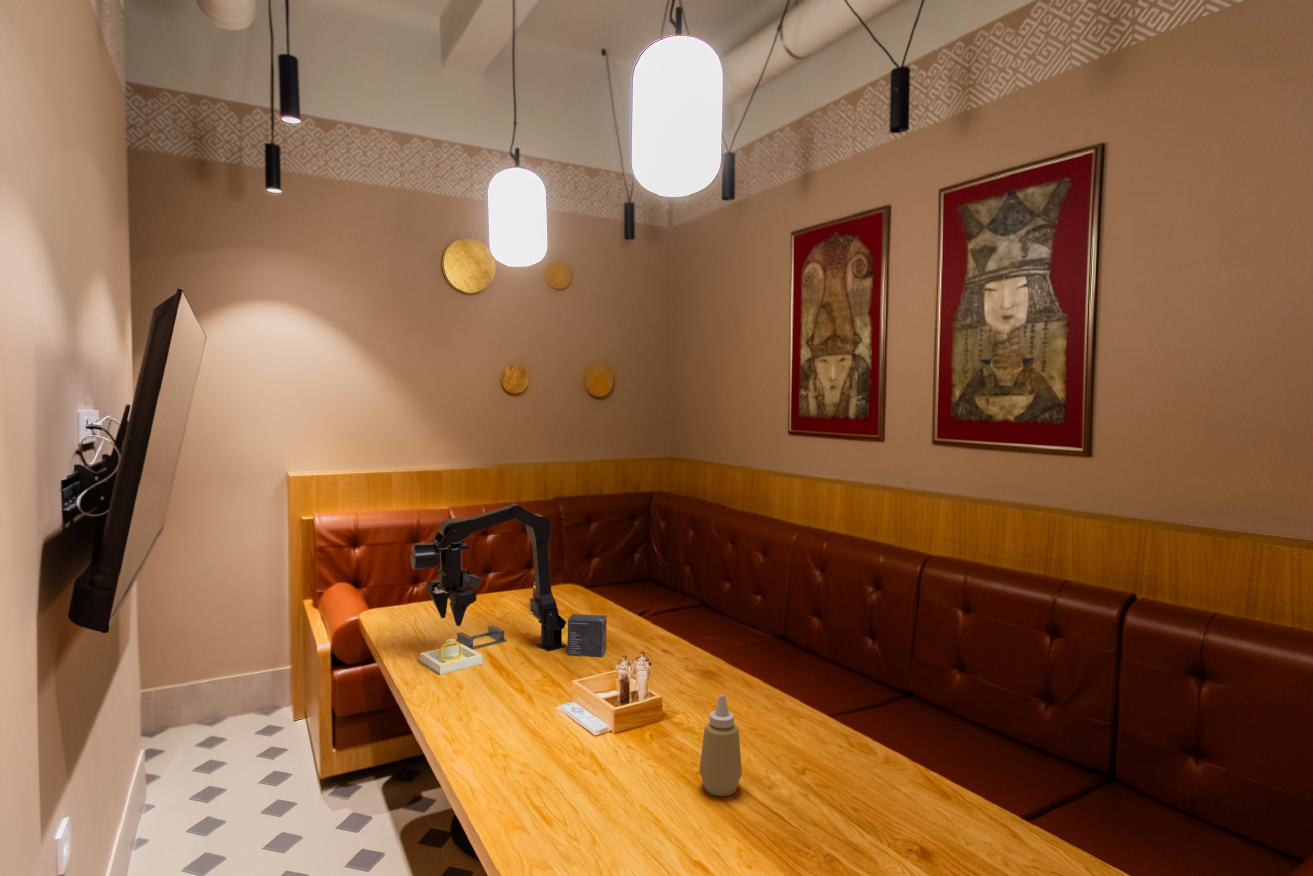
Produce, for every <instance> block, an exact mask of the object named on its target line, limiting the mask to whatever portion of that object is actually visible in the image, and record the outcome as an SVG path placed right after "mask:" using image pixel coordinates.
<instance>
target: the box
mask: <svg viewBox="0 0 1313 876" xmlns="http://www.w3.org/2000/svg"><path fill="white" fill-rule="evenodd" d="M607 617H608V616H607V615H602V614H601V615H600V614H580V613H579V614H577V613H576V614H573V613H572V614H571V615H570V616H569V618H567V653H566V654H567V656H574V657H575V656H577V657H578V656H579V657H596V658H597V657H598V658H599V657H600V658H602V657H604V655H605V654H606V652H607V623H608V621H607Z"/></svg>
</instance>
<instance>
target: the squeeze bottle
mask: <svg viewBox="0 0 1313 876" xmlns="http://www.w3.org/2000/svg"><path fill="white" fill-rule="evenodd" d="M726 697H727V696H726V695H725V694H719V695H718V699H717V704H716V708H715V710H712V711H711V712H710V713H709V722H708V723H707V724H706V725H705V726H704V731H703V739H702V746H701V747H702V748H701V754H700V763H699V773H700V777H701V780H702V783H703V787H704V790H705V792H707V793H709V794H710V795H713V796H716V797H728V796H731V795H733V794H735V792H736V791H737V788H738V786H739V783H740V780H741V777H742V774H743V771H742V770H743V769H742V755H741V745H740V744H741V742H740V731H739V730H740V729H739V727H738V726H737V725H736V724H735V715H734V713H733V712H731V711H730V710H729V708H728V707H729V706H728V702H727V698H726Z"/></svg>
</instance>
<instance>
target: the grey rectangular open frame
mask: <svg viewBox="0 0 1313 876" xmlns="http://www.w3.org/2000/svg"><path fill="white" fill-rule="evenodd" d="M487 628H488V629H487V630H488V631H487V632H484V633H479V634H475V635H469V634H467V633H465V632H463V631H460V632H457V633H456V638H455V639H456V641H457V642H459V644H463V645H465V646H467V647H468V648H470V649H472V650H475V649H480V648H484V647H489V646H493V645H497V644H501V643H505V642H507V639H506V638H505V630H504V629H503V628H500V627H497V626H495V625H493V624H492V625H488V626H487ZM486 636H488V637H490V638H492V639H494V641H491V642H485V643H481V644H477V645H474V639H477V638H481V637H486Z"/></svg>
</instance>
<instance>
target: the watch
mask: <svg viewBox="0 0 1313 876" xmlns="http://www.w3.org/2000/svg"><path fill="white" fill-rule="evenodd" d="M456 639H457V638H449V639H448V638H447V639H445V642H444V643H443V644H441V647H440V648H439V649H440V653H439V654H440V657H441V659H442V660H443V661H444V662H450V661H454V660H458V659H459V658H460V657H461V655H462V646H461V645H460V644H459V642H457V641H456ZM454 644H455V645H459V647H460V652H459V654H458V656H457V657H456V658H455V659H449V660H445V659H444V658H443V657H442V650H443V649H444V648H445V647H447V646H448V645H454Z"/></svg>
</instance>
